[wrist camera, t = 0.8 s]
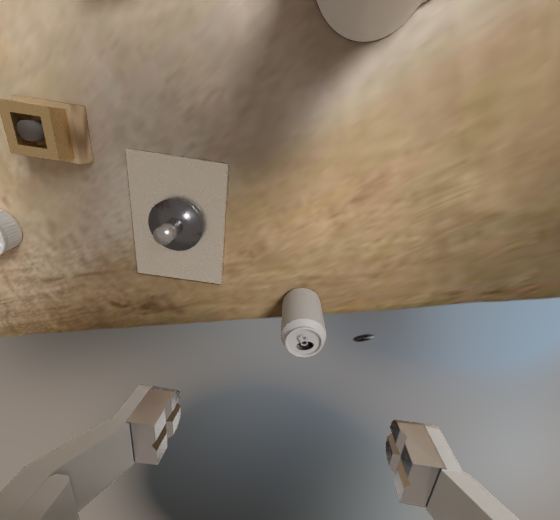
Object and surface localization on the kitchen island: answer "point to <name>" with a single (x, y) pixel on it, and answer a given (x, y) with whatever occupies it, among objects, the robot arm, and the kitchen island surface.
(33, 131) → the stand
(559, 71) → the kitchen island surface
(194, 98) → the kitchen island surface
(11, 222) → the ramekin
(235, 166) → the kitchen island surface
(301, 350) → the can
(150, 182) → the stone base with peg
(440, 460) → the robot arm
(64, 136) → the tan square hollow frame
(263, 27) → the kitchen island surface
